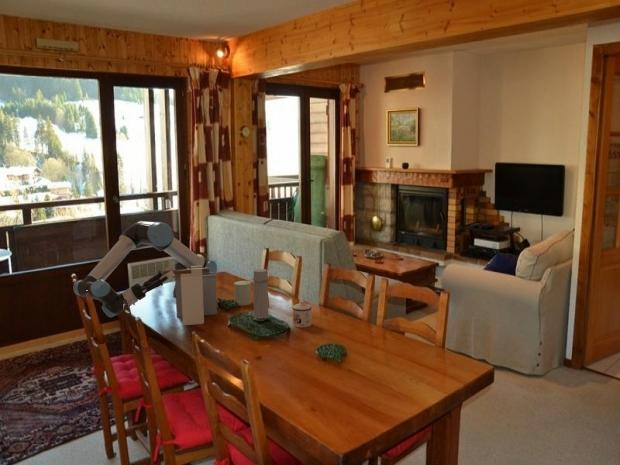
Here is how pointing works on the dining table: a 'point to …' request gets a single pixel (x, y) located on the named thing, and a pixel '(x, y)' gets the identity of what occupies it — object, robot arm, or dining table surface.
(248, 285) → the can
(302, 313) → the teacup with lid
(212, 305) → the grey box
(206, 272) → the walnut pin
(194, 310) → the cream stand
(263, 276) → the water bottle
